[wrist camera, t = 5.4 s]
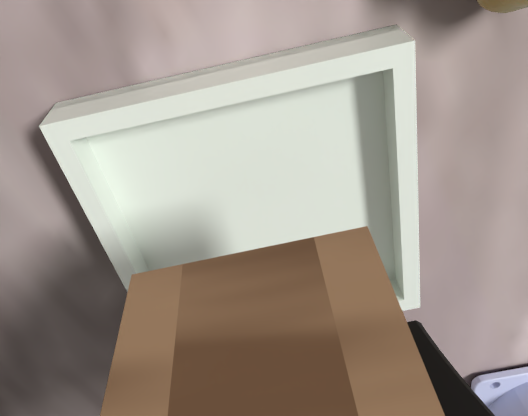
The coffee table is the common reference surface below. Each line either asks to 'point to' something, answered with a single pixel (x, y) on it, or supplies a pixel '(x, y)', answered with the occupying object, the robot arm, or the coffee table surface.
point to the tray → (253, 156)
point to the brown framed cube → (270, 337)
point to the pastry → (503, 5)
